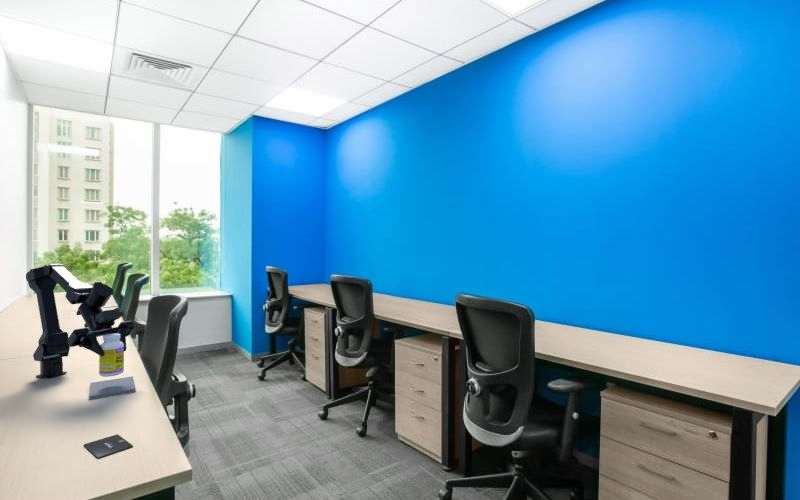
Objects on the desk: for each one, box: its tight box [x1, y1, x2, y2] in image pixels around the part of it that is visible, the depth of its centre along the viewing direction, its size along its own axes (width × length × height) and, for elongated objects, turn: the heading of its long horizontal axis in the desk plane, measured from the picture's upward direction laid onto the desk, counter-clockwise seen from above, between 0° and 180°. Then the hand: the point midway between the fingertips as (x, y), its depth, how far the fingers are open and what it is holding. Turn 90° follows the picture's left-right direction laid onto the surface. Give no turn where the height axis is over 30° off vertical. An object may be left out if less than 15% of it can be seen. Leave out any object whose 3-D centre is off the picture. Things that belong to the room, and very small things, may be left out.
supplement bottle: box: [98, 334, 125, 378], centre depth 137 cm, size 7×7×13 cm
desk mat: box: [88, 375, 137, 401], centre depth 137 cm, size 16×12×1 cm
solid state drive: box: [83, 433, 134, 460], centre depth 97 cm, size 7×10×1 cm
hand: (114, 352), depth 137 cm, fingers closed on supplement bottle, 7 cm apart
